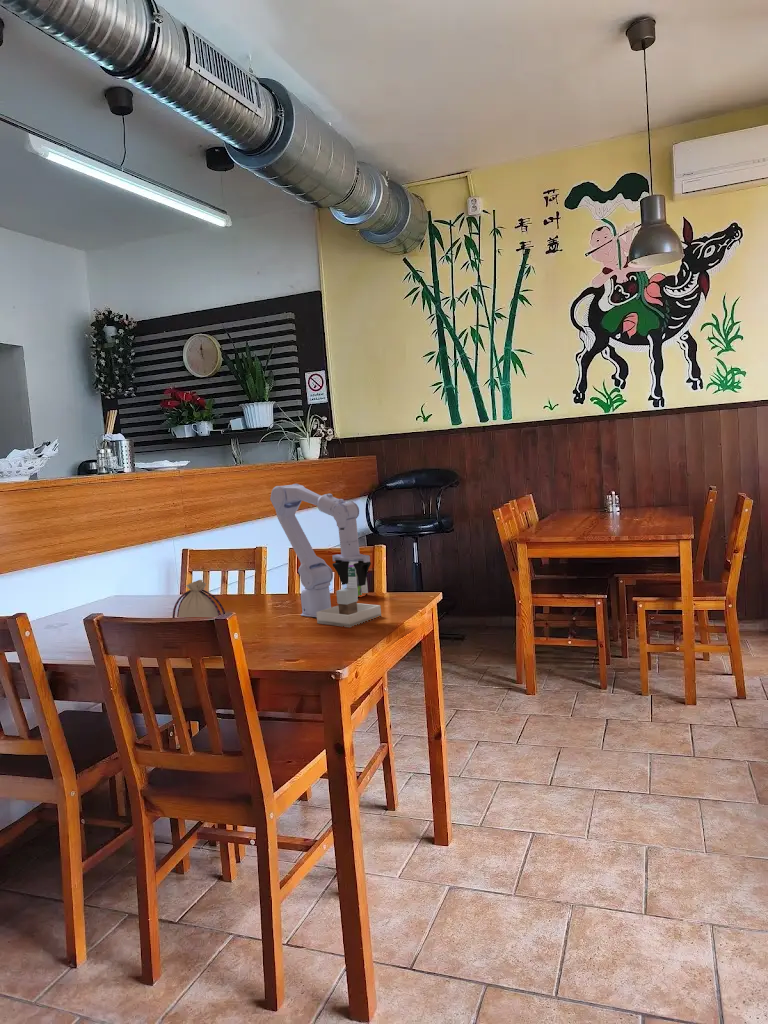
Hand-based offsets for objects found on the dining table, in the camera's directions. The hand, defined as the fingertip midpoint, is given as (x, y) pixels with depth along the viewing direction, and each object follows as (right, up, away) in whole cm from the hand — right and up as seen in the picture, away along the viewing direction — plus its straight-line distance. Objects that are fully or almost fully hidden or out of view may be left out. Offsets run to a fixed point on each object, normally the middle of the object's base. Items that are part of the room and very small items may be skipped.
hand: (353, 584), depth 227 cm
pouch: (-42, -16, -18) cm, 49 cm away
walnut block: (-1, -10, -1) cm, 10 cm away
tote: (-1, -11, -1) cm, 11 cm away
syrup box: (0, -8, +35) cm, 36 cm away
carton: (-2, -5, -2) cm, 6 cm away
